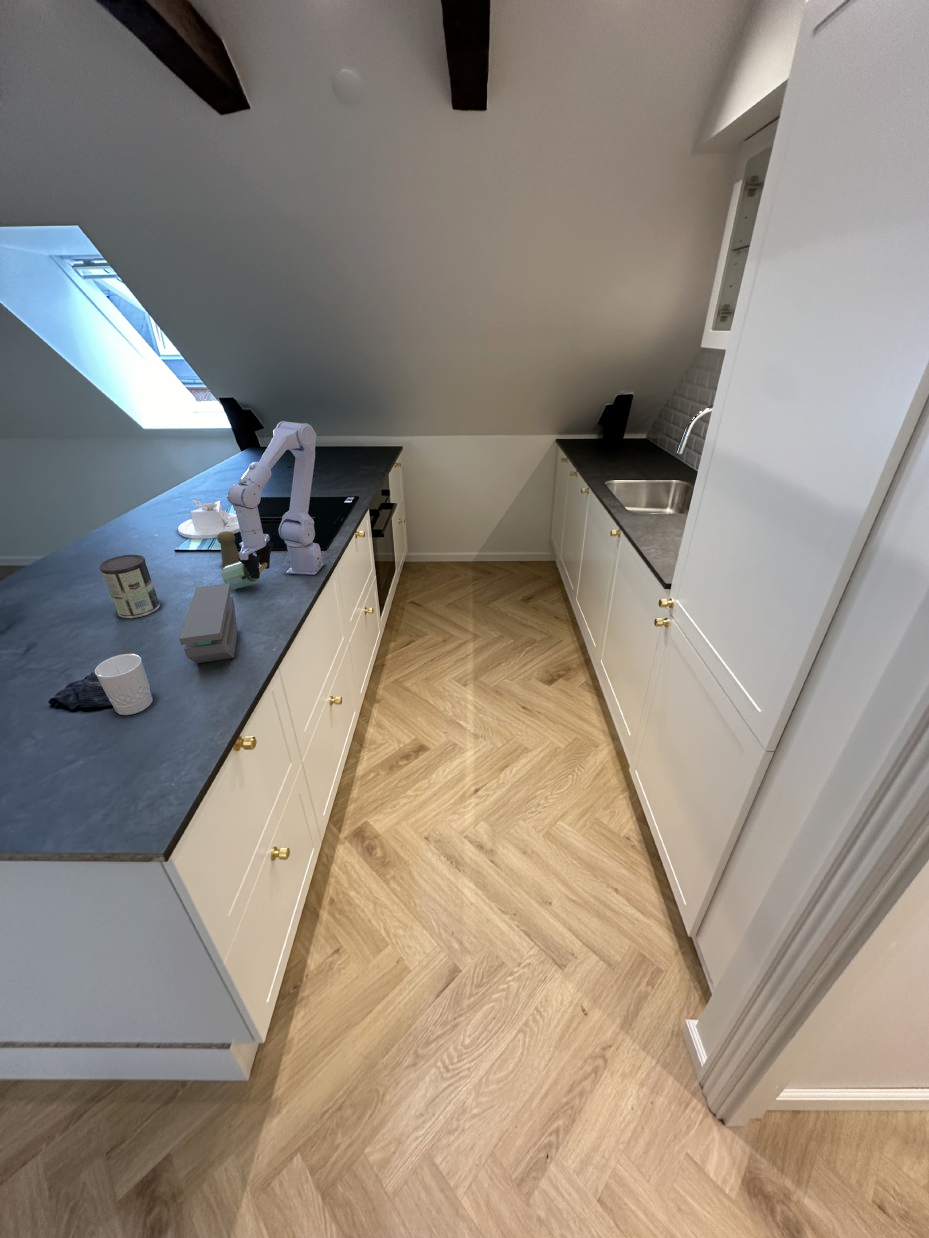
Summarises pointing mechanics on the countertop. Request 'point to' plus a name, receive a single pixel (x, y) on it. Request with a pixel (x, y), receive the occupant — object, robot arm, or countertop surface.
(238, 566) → the bucket
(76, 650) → the countertop surface
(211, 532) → the dish
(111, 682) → the white cup
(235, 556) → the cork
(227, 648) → the grey box
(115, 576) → the coffee can
